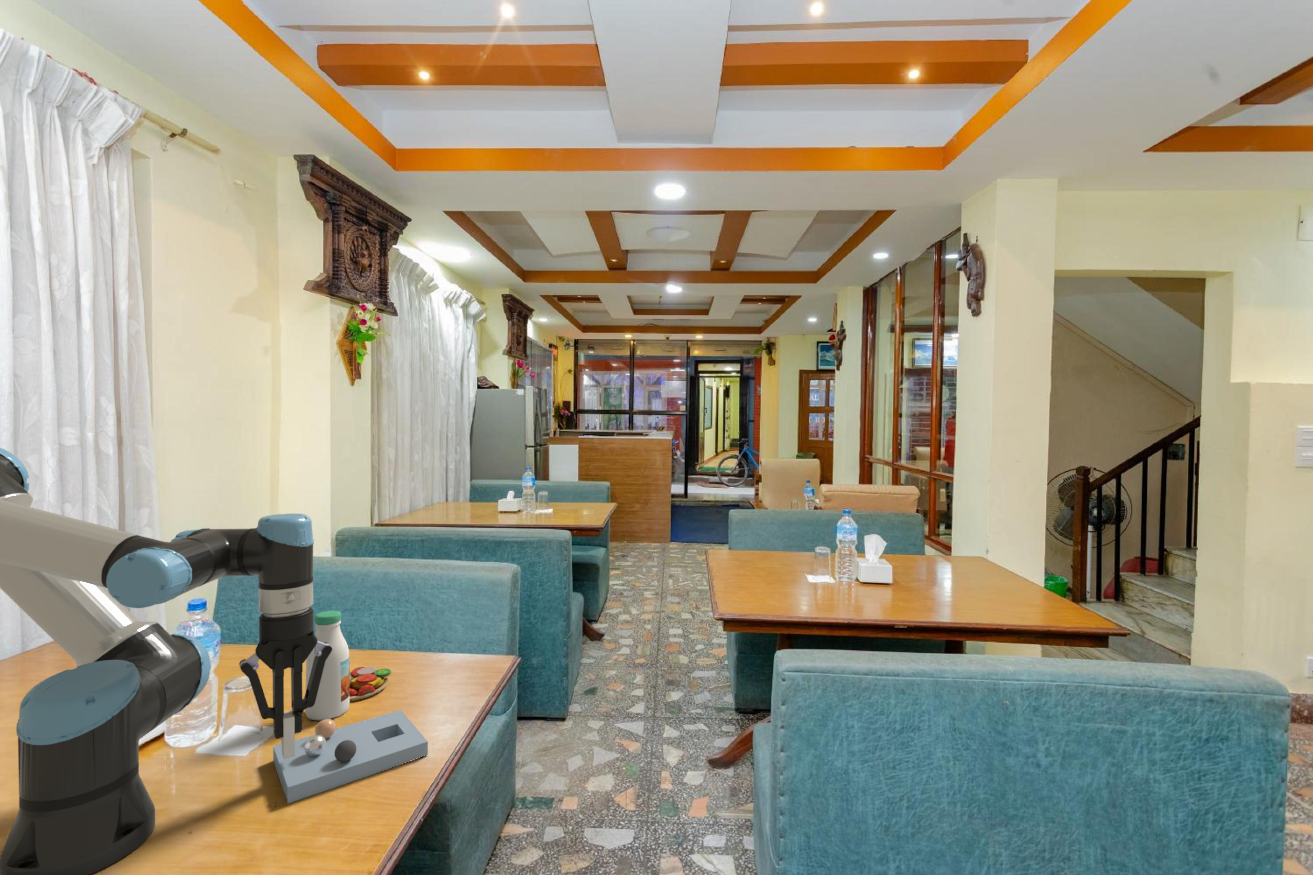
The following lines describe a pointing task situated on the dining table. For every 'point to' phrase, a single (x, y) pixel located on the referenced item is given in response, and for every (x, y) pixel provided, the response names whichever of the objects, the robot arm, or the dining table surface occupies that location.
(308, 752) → the steel ball
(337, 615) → the milk bottle
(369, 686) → the toy food set
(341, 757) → the black ball
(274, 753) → the board
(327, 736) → the terracotta ball
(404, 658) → the dining table surface
